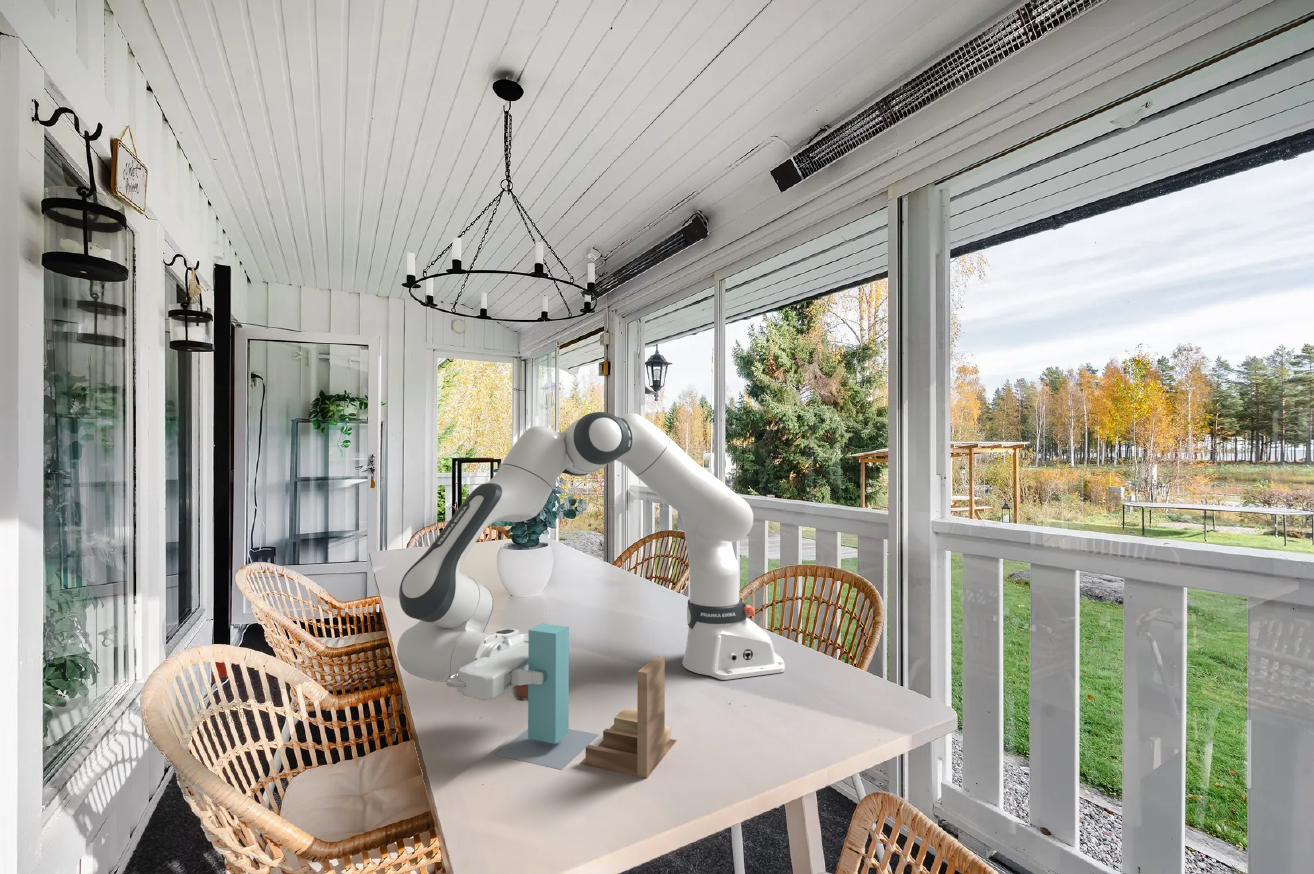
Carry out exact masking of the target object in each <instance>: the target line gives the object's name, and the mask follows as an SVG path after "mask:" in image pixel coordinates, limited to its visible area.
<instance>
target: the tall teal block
mask: <svg viewBox="0 0 1314 874" xmlns="http://www.w3.org/2000/svg"><path fill="white" fill-rule="evenodd" d="M528 634H529V644H528V670H529V671H535V670H536V669H539V670H545V671H546V673H547V675H546V677H547V680H546V681H545V682H544V683H542V684H541V685H537V684H528V700H527V708H528V709H527V710H528V711H527V718H528V719H527V730H528V738H530V739H535V740H540V741H545V742H549V743H554V744H556V743H557V742H558V741H559V740H560V739H562V738H563V737H564V736H565V735H566V734H568V729H570V727H569V720H570V719H569V717H570V716H569V711H570V710H569V708H570V707H569V706H570V705H569V704H570V703H569V701H570V699H569V697H570V695H569V694H570V693H569V687H570V686H569V683H570V682H569V681H570V680H569V679H570V674H569V673H570V670H569V668H570V665H569V663H570V655H569V654H570V648H569V647H570V646H569V645H570V644H569V643H570V627H569V626H565V625H557V624H550V623H549V624H548V623H540V624H539V625H537V626H534V627H532V628H530V629H528Z"/></svg>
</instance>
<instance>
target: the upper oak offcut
mask: <svg viewBox="0 0 1314 874" xmlns="http://www.w3.org/2000/svg"><path fill="white" fill-rule="evenodd" d="M613 725H614V730H616V731H621V732H627V733H632V734H637V709H631V708H626V707H624V708H623V709H622V710H621V711H620V712H619V713H618V714H617V715H616V716H614V718H613Z"/></svg>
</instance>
